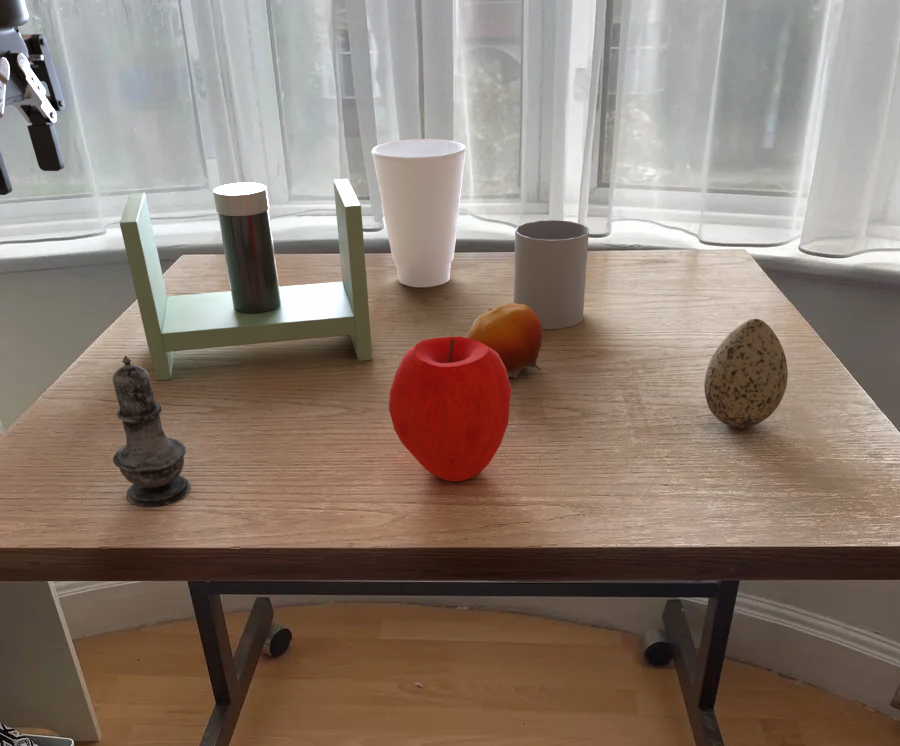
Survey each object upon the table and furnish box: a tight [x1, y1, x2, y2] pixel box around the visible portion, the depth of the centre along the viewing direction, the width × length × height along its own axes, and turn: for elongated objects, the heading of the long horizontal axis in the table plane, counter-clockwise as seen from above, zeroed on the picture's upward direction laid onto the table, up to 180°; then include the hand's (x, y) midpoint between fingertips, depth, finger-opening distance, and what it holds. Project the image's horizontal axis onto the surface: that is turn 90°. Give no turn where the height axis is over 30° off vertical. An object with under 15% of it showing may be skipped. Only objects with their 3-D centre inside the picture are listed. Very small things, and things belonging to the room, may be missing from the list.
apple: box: [388, 335, 512, 482], centre depth 74 cm, size 10×10×12 cm
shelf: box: [119, 178, 374, 382], centre depth 97 cm, size 23×12×16 cm, turn 101°
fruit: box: [466, 302, 543, 380], centre depth 94 cm, size 8×8×8 cm
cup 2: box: [513, 219, 590, 330], centre depth 105 cm, size 8×8×10 cm
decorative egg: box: [703, 318, 789, 429], centre depth 81 cm, size 7×7×10 cm
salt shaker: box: [112, 355, 191, 508], centre depth 73 cm, size 6×6×12 cm
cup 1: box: [370, 138, 468, 288], centre depth 116 cm, size 12×12×16 cm
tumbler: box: [212, 182, 281, 314], centre depth 95 cm, size 5×5×12 cm
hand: (27, 181), depth 79 cm, fingers open, 8 cm apart
